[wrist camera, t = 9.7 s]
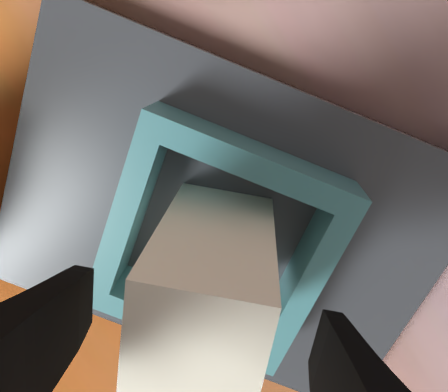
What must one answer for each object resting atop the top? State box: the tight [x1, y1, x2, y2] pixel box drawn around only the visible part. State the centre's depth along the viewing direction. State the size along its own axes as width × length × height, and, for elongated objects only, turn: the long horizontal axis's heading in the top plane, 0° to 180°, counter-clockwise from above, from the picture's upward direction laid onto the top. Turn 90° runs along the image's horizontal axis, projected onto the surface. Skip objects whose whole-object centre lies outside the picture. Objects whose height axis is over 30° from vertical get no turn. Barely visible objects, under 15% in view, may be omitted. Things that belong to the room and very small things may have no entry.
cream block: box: [116, 183, 282, 392], centre depth 14 cm, size 4×4×8 cm
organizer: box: [0, 0, 448, 392], centre depth 18 cm, size 20×14×4 cm
